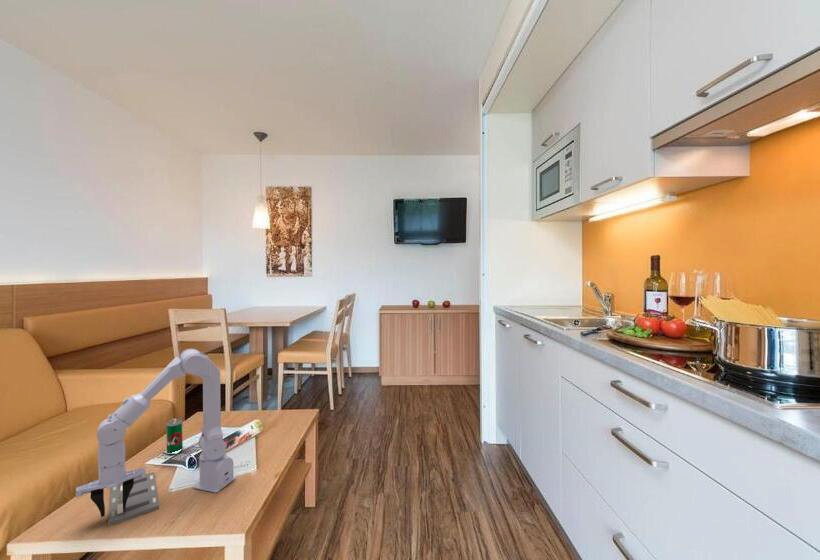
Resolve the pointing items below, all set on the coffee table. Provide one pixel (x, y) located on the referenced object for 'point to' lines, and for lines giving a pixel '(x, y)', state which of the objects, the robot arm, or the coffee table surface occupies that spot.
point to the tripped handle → (119, 505)
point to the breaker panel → (134, 499)
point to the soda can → (174, 435)
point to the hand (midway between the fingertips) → (113, 511)
